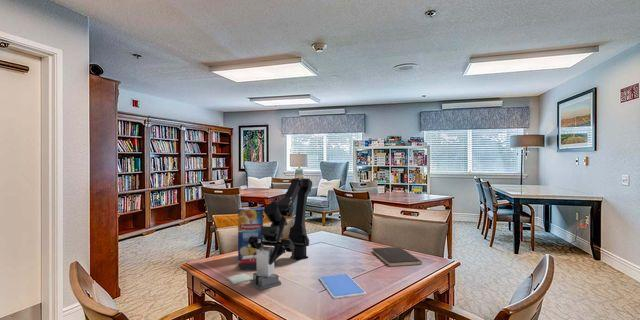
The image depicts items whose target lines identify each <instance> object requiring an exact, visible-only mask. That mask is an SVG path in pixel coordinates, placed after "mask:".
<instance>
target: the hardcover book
mask: <svg viewBox="0 0 640 320" xmlns="http://www.w3.org/2000/svg"><path fill="white" fill-rule="evenodd" d="M371 250H372V253H374V254H375V255H376V256H377V257H378V258H379V259H381V260H382V261H383V262H384V263H385V264H386V265H387V266H389V267H398V266H412V265H422V263H423V262H422V260H421V259H419V258H418V257H416V256H414V255H413V254H411V253H410V252H408V251H407V250H405V249H404V248H402V247H401V246H389V247H374V248H371Z"/></svg>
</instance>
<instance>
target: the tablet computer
mask: <svg viewBox="0 0 640 320" xmlns="http://www.w3.org/2000/svg"><path fill="white" fill-rule="evenodd" d="M318 279H319V281H320V282H321V283H322V285H323V286H324V288H325V289H326V291H327V292H328V293H329V296H331V298H332V299H334V300H338V299H344V298H353V297H360V296H366V295H367V292H366V291H365V290H364V289H363V288H362V287H361V286H360V285H359V284H358V283H357V282H356V281H355V280H354V279H353V278H352V277H351V276H350V275H349V274H347V273H346V274H345V273H344V274H343V273H341V274H336V275H335V274H334V275H326V276H320V277H319V278H318Z"/></svg>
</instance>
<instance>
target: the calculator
mask: <svg viewBox="0 0 640 320" xmlns="http://www.w3.org/2000/svg"><path fill="white" fill-rule="evenodd" d="M239 261H240V262H239V263H238V270H239V271H257V255H255V256H254V255H250V256H243V258H242V260H239ZM275 264H276V260H275V261H274V266H275Z"/></svg>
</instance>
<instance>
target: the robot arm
mask: <svg viewBox="0 0 640 320" xmlns="http://www.w3.org/2000/svg"><path fill="white" fill-rule="evenodd" d="M312 188H313V181H312V179H310V178H303V177H301V178H291V180H290V183H289V186H288V188H287V190H286V192H285V194H284V196H283V198H281V199H279V200H278V201H271V203H269V204H267V205H266V206H265V207H263V214H265V216H266V217H267V219H268V221H269V222H270V223H271V224H270V226H265V225H263V226H261V231H260V235H263V240H261V239H260V238H259V237H258V236H250V237H249V239H248V243H249V244H250V245H251V247H252V248H254V249H259V248H261V247H263V246H265V247H274V251H273V254H272V256H271V259H270V262H269V264H270V265H271V264H272V263H273V262H274V261H275V262H276V260H277V259H278V258H279V257H281V256H282V255H283V254H286V252H287V253H291V255H290V258H293V260H294V259H295V260H296V261H299V260H305V259H308V258H309V256H308V255H307V247H309V245H310V239H309V237H308V234H307V229H306V227H305V220H306V219H305V218H306V208H307V200H308V196H309V194H310V193H311V191H312ZM295 200H296V205H295V208H294V202H295ZM294 209H295V213H294ZM293 213H294V215H295V217H294V223H293V225H292V226H290V228H289V234H288V238H283V237H284V234H283V233H284V229H285V227H286V226H288V222H287V219H286V217H288V218H289V217H292V215H293ZM281 238H282V239H281Z"/></svg>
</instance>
